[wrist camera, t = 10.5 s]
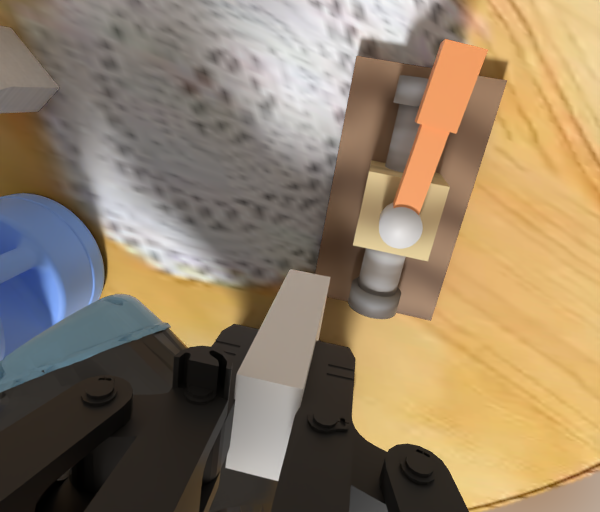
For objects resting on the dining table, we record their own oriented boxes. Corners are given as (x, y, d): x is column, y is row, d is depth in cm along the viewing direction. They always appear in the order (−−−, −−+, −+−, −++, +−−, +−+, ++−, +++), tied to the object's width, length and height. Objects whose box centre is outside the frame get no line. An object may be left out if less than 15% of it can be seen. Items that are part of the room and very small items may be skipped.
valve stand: (429, 313, 43) (438, 360, 36) (313, 287, 45) (298, 326, 37) (502, 81, 35) (535, 76, 27) (357, 57, 36) (350, 47, 29)
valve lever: (412, 243, 33) (414, 253, 31) (374, 232, 33) (373, 241, 31) (483, 53, 28) (491, 50, 26) (437, 42, 28) (442, 38, 26)
